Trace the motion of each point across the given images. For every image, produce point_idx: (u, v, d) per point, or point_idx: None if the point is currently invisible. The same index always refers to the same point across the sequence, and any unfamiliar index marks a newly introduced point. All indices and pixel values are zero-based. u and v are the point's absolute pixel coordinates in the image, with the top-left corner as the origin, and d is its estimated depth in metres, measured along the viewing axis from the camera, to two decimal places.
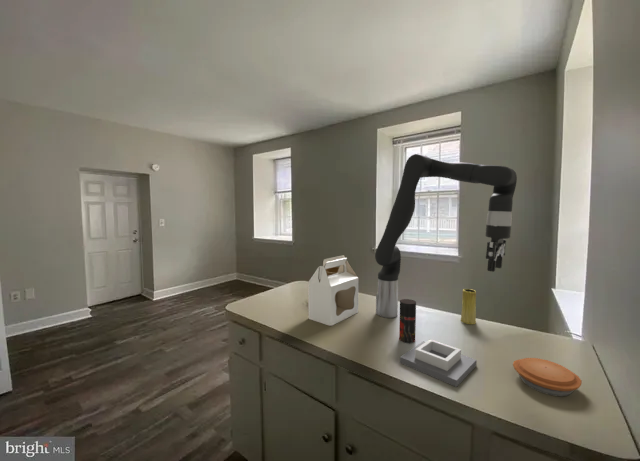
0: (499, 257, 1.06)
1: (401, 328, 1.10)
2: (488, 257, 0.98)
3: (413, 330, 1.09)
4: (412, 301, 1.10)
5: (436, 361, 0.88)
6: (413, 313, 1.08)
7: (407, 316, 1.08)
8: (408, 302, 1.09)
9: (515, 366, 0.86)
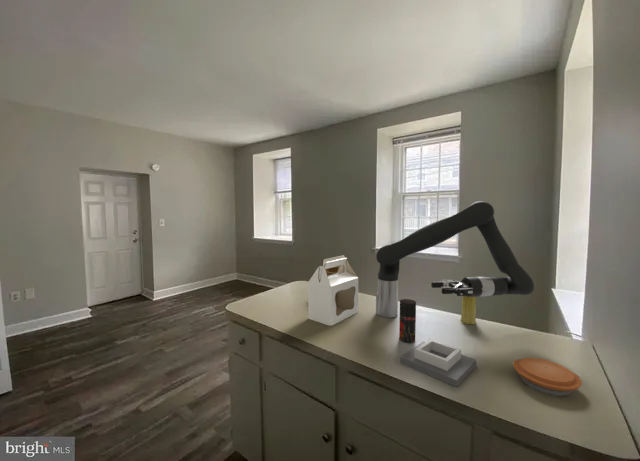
0: (441, 285, 1.15)
1: (401, 328, 1.10)
2: (459, 291, 1.04)
3: (413, 330, 1.09)
4: (412, 301, 1.10)
5: (436, 361, 0.88)
6: (413, 313, 1.08)
7: (407, 316, 1.08)
8: (408, 302, 1.09)
9: (515, 366, 0.86)
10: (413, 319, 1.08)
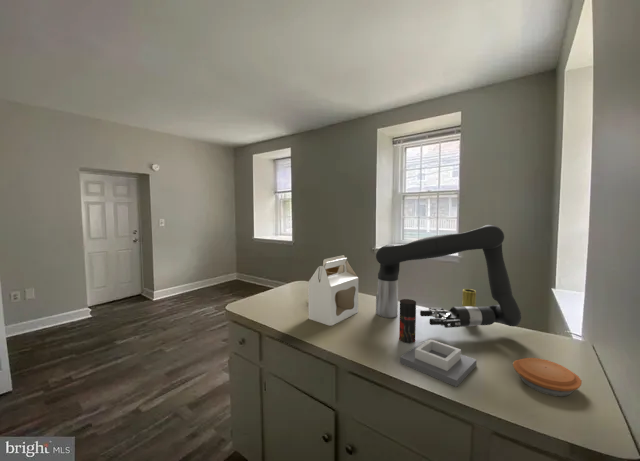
0: (430, 313, 1.16)
1: (401, 328, 1.10)
2: (446, 323, 1.05)
3: (413, 330, 1.09)
4: (412, 301, 1.10)
5: (436, 361, 0.88)
6: (413, 313, 1.08)
7: (407, 316, 1.08)
8: (408, 302, 1.09)
9: (515, 366, 0.86)
10: (413, 319, 1.08)
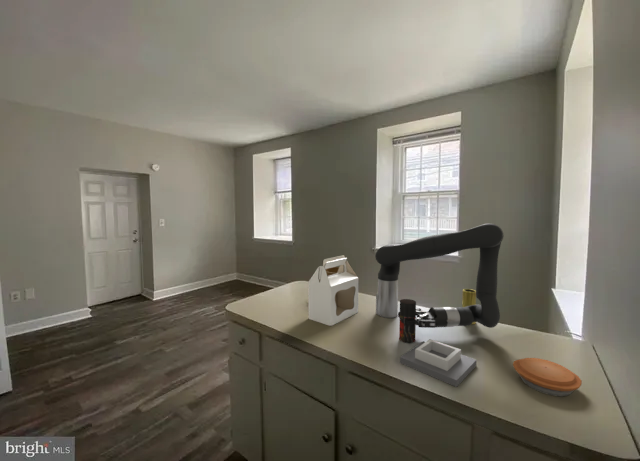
0: None
1: (401, 328, 1.10)
2: (420, 322, 1.05)
3: (413, 330, 1.09)
4: (412, 301, 1.10)
5: (436, 361, 0.88)
6: (413, 313, 1.08)
7: (407, 316, 1.08)
8: (408, 302, 1.09)
9: (515, 366, 0.86)
10: None
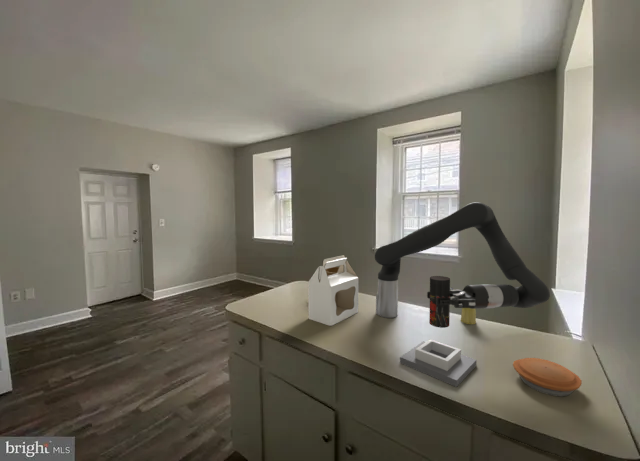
0: None
1: (432, 310, 0.91)
2: (457, 302, 0.86)
3: (448, 313, 0.90)
4: (445, 277, 0.92)
5: (436, 361, 0.88)
6: (447, 291, 0.90)
7: (440, 295, 0.89)
8: (440, 278, 0.91)
9: (515, 366, 0.86)
10: None
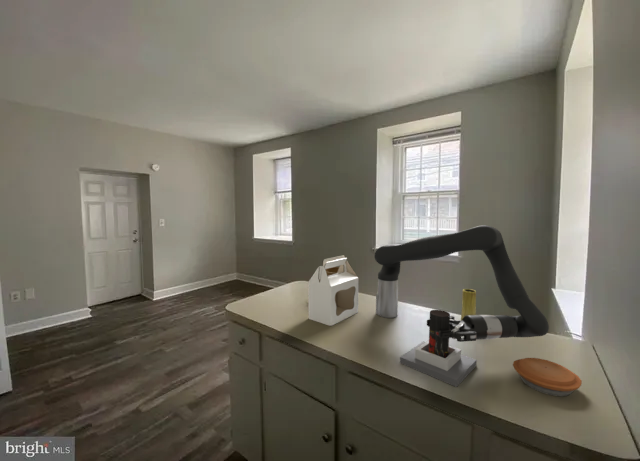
0: None
1: (432, 345, 0.92)
2: (460, 336, 0.86)
3: (447, 348, 0.91)
4: (445, 313, 0.92)
5: (436, 361, 0.88)
6: (447, 327, 0.90)
7: None
8: (440, 314, 0.91)
9: (515, 366, 0.85)
10: None
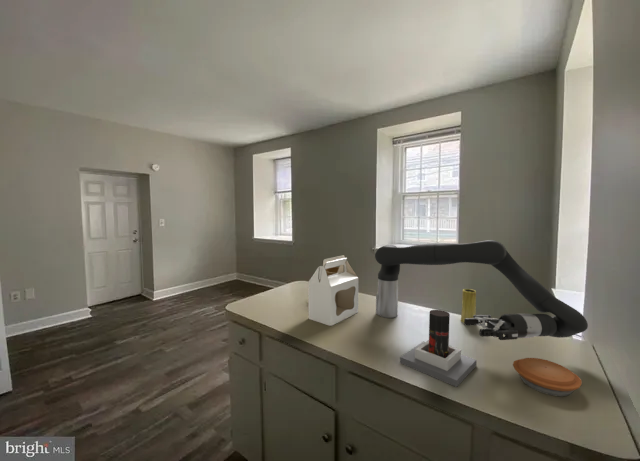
0: (476, 322, 0.98)
1: (431, 345, 0.92)
2: (502, 334, 0.87)
3: (447, 348, 0.91)
4: (444, 313, 0.92)
5: (436, 361, 0.88)
6: (446, 327, 0.90)
7: (439, 331, 0.90)
8: (440, 314, 0.91)
9: (515, 366, 0.85)
10: (446, 334, 0.90)
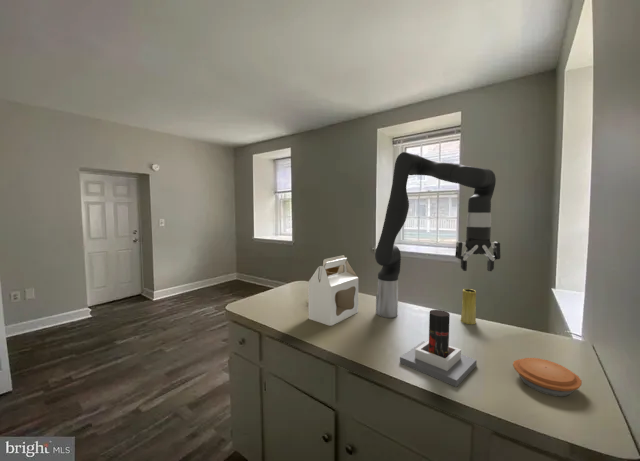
0: (489, 260, 1.02)
1: (431, 345, 0.92)
2: (456, 256, 1.04)
3: (447, 348, 0.91)
4: (444, 313, 0.92)
5: (436, 361, 0.88)
6: (446, 327, 0.90)
7: (439, 331, 0.90)
8: (440, 314, 0.91)
9: (515, 366, 0.85)
10: (446, 334, 0.90)
